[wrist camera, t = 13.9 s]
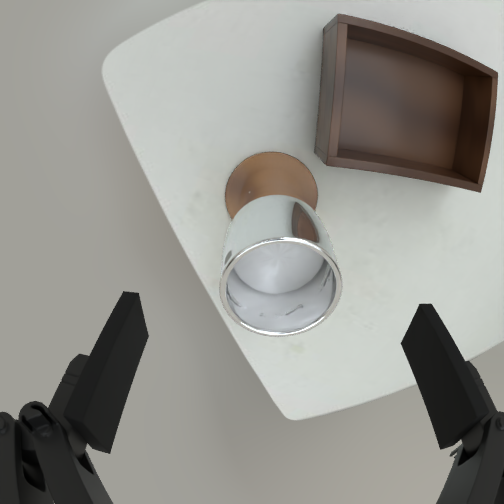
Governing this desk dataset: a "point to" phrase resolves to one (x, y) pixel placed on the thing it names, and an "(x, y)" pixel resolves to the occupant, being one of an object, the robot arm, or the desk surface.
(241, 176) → the coaster
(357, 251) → the desk surface
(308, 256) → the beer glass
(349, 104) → the crate
